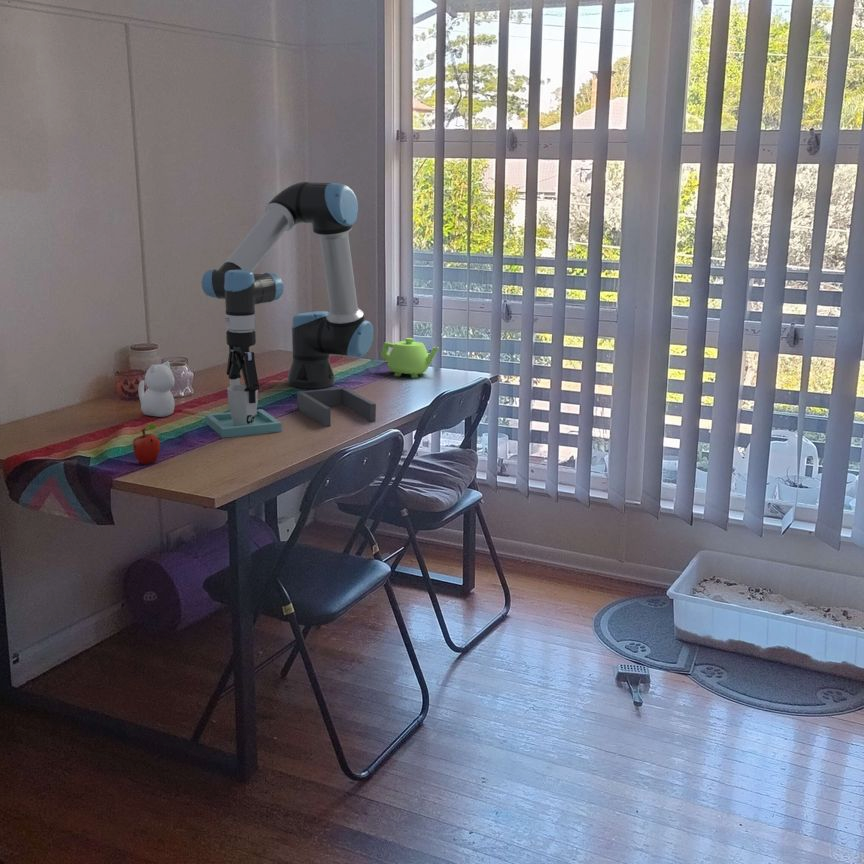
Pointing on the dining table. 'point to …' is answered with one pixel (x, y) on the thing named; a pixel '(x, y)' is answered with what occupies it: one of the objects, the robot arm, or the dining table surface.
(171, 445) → the dining table surface
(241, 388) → the cup
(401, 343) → the teapot
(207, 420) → the tray
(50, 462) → the dining table surface
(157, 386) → the cat figurine
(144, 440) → the apple
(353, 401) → the bay
